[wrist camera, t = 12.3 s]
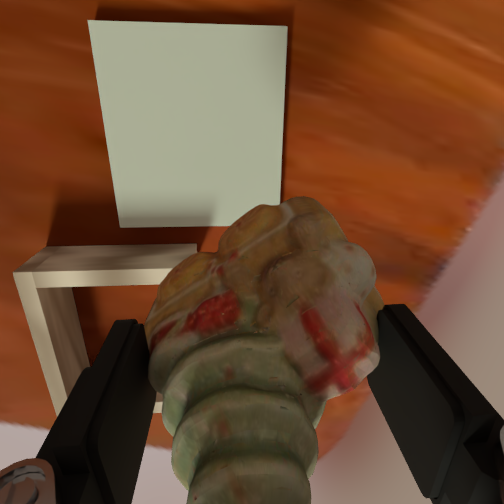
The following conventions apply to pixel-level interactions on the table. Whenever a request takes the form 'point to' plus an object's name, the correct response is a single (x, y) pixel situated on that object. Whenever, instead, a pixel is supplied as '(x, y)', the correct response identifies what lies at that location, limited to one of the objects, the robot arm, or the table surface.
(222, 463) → the ornament
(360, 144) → the table surface
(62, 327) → the shelf bay
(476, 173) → the table surface
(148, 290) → the table surface
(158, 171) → the tile mat
